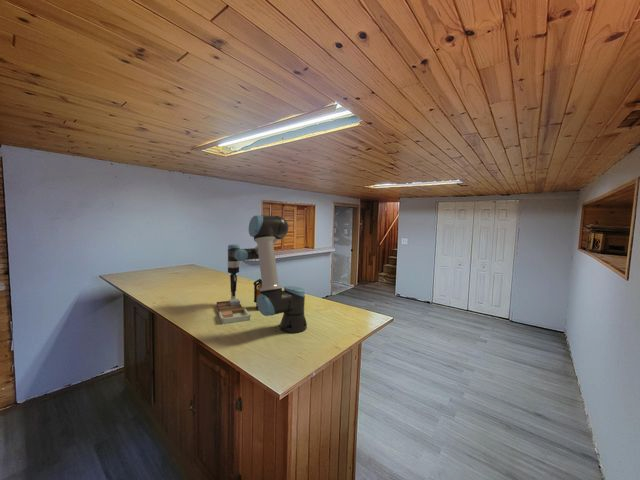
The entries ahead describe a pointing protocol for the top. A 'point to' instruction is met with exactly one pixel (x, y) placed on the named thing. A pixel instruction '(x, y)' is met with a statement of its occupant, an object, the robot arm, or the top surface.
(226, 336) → the top surface
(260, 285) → the canister
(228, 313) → the tile
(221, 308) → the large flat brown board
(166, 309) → the top surface
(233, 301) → the tile
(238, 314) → the tray
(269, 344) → the top surface
